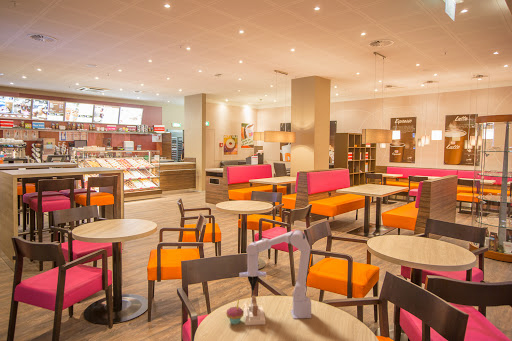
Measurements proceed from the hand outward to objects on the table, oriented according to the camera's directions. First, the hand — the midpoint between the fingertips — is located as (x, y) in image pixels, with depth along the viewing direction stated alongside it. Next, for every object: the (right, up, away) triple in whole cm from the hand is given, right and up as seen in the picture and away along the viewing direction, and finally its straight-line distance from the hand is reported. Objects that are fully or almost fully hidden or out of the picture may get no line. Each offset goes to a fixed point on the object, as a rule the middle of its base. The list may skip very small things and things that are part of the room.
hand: (252, 289), depth 171 cm
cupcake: (-9, -12, -13) cm, 20 cm away
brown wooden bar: (+1, -7, -10) cm, 12 cm away
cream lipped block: (+1, -11, -9) cm, 14 cm away
